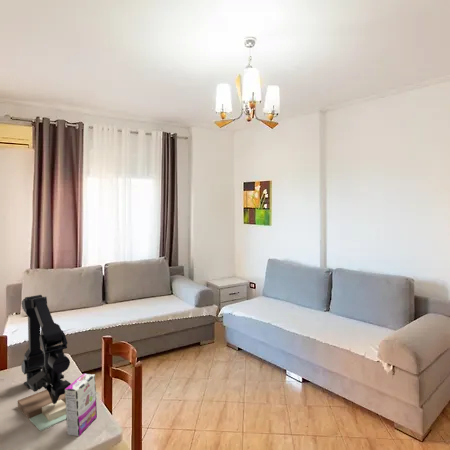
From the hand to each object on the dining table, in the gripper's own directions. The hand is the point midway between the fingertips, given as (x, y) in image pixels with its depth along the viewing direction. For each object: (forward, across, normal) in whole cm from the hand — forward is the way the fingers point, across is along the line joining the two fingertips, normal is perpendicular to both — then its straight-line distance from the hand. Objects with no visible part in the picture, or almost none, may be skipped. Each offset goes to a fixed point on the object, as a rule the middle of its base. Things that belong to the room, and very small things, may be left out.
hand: (54, 403), depth 132 cm
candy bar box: (+4, +16, +3) cm, 16 cm away
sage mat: (+4, +2, 0) cm, 4 cm away
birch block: (+3, +1, 0) cm, 3 cm away
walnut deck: (+4, -8, 0) cm, 9 cm away
